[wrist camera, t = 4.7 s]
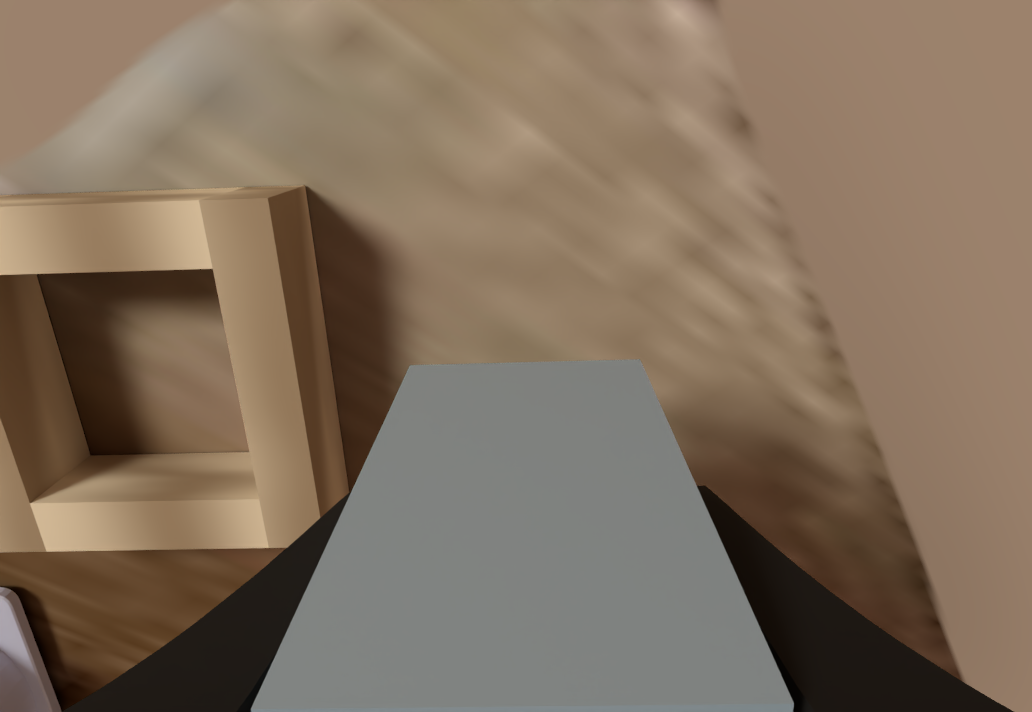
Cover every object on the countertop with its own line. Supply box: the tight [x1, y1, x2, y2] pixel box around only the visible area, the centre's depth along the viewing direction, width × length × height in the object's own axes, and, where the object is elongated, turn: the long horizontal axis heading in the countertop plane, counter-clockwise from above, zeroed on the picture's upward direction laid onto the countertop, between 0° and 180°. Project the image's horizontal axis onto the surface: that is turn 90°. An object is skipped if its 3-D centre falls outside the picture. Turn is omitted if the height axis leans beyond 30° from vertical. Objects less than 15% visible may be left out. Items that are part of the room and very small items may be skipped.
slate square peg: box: [251, 359, 794, 712], centre depth 9 cm, size 4×4×7 cm
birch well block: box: [0, 185, 349, 552], centre depth 17 cm, size 9×9×2 cm
